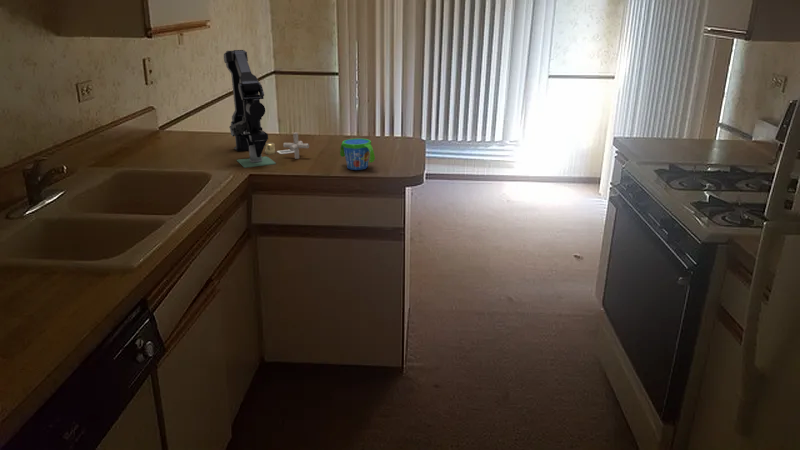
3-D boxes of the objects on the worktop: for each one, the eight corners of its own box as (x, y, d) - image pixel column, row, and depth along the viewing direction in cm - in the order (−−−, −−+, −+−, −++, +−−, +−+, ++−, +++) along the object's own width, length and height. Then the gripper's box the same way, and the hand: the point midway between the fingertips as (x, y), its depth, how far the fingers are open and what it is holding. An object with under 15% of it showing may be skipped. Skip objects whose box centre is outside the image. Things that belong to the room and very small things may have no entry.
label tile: (276, 151, 254) (276, 150, 254) (295, 149, 258) (295, 148, 258) (280, 154, 250) (280, 153, 250) (299, 152, 254) (299, 151, 254)
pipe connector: (304, 161, 238) (303, 136, 235) (280, 160, 240) (278, 135, 237) (313, 155, 248) (311, 130, 244) (289, 154, 250) (288, 130, 246)
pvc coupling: (248, 160, 239) (247, 145, 237) (260, 159, 241) (259, 144, 239) (251, 163, 235) (249, 147, 233) (263, 162, 237) (262, 146, 235)
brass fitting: (264, 152, 253) (263, 143, 251) (273, 151, 254) (273, 142, 253) (266, 155, 249) (266, 145, 248) (276, 153, 251) (275, 144, 250)
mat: (236, 160, 240) (236, 159, 240) (267, 157, 246) (267, 156, 245) (244, 167, 230) (244, 166, 230) (275, 164, 236) (275, 163, 235)
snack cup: (333, 166, 231) (331, 140, 228) (354, 162, 238) (354, 135, 235) (360, 175, 221) (359, 146, 217) (382, 169, 228) (381, 142, 224)
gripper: (224, 111, 236) (228, 151, 241) (236, 119, 220) (240, 162, 226) (253, 109, 241) (257, 148, 246) (267, 117, 225) (270, 159, 231)
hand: (255, 154), depth 237 cm, fingers open, 9 cm apart
